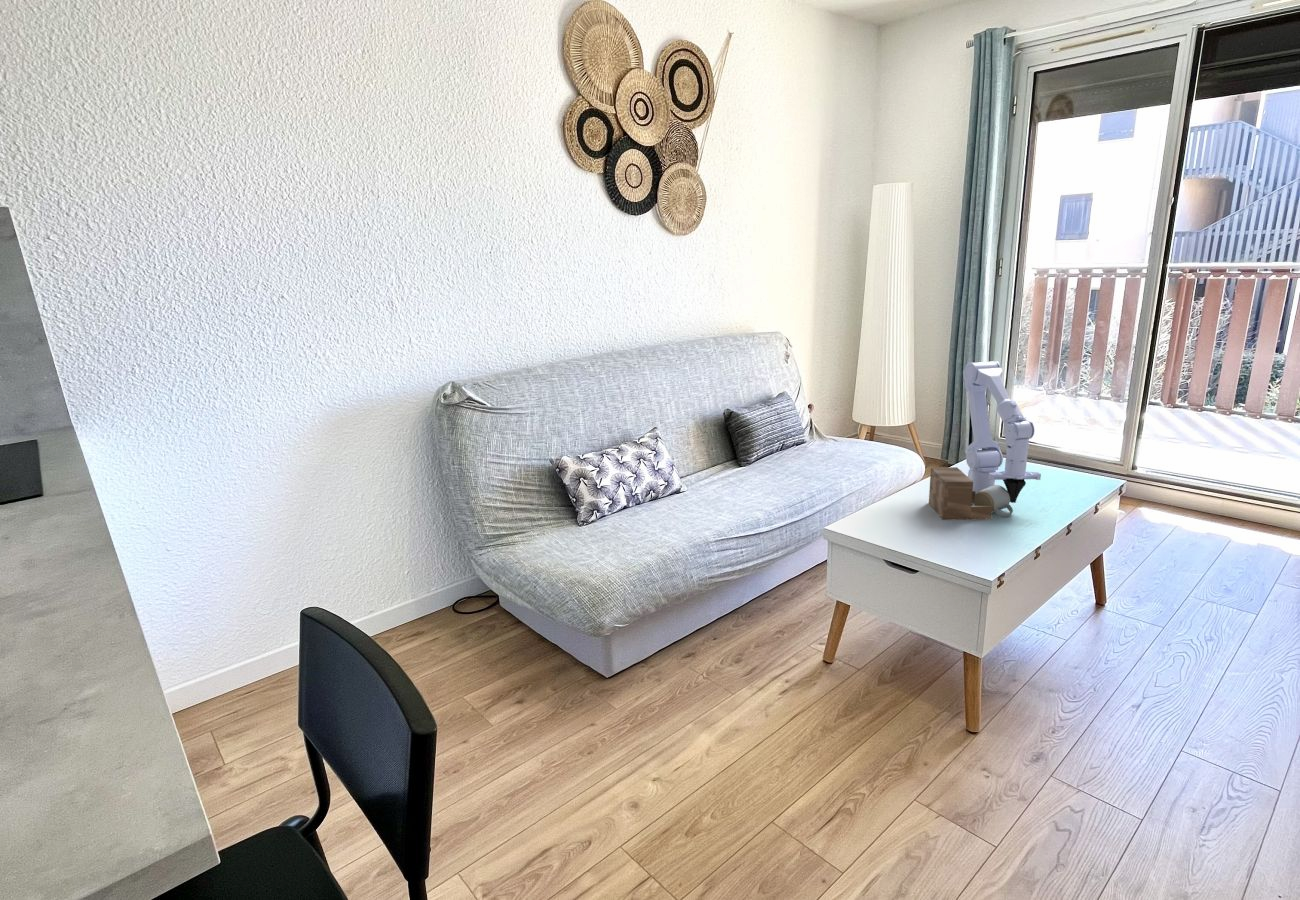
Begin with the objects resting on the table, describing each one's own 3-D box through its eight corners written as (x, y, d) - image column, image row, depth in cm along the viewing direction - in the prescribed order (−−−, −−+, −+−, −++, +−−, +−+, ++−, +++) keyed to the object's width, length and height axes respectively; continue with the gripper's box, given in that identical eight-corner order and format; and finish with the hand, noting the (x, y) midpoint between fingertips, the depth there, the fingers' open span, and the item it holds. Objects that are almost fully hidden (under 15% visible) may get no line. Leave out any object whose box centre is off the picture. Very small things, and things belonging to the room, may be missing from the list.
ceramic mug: (970, 510, 219) (973, 487, 216) (987, 504, 223) (989, 481, 220) (1002, 520, 210) (1004, 496, 208) (1018, 514, 214) (1021, 490, 212)
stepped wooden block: (928, 503, 227) (930, 467, 224) (973, 502, 225) (976, 467, 222) (942, 519, 212) (945, 481, 209) (990, 519, 211) (994, 481, 208)
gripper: (996, 463, 210) (992, 506, 213) (1047, 462, 208) (1042, 505, 212) (987, 457, 216) (984, 498, 220) (1036, 456, 215) (1032, 498, 219)
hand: (1012, 501), depth 216 cm, fingers closed
